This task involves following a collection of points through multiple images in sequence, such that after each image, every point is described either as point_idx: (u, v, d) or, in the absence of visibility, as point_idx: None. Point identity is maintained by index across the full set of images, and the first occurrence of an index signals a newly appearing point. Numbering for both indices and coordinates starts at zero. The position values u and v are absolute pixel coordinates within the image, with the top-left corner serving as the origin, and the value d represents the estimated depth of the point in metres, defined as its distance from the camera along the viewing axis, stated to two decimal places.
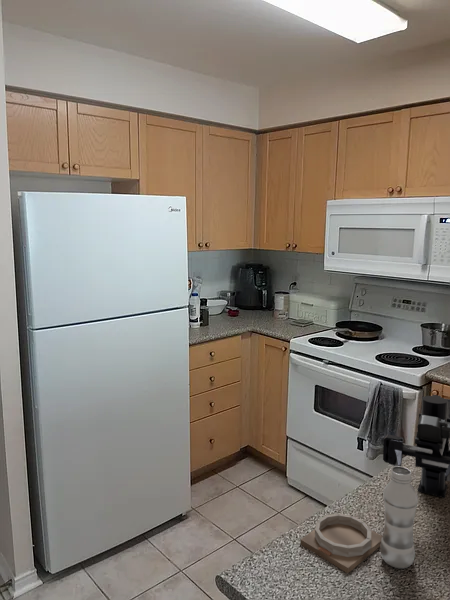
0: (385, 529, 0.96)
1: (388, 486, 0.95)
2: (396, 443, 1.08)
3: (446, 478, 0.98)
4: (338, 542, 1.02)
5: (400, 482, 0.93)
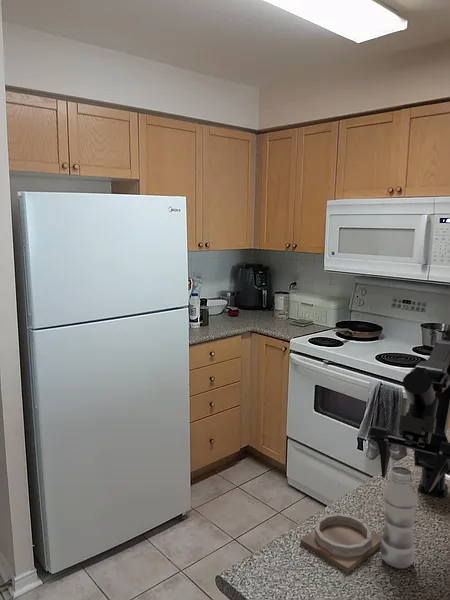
0: (385, 529, 0.96)
1: (388, 486, 0.95)
2: (379, 442, 1.04)
3: (429, 490, 0.96)
4: (338, 542, 1.02)
5: (400, 482, 0.93)
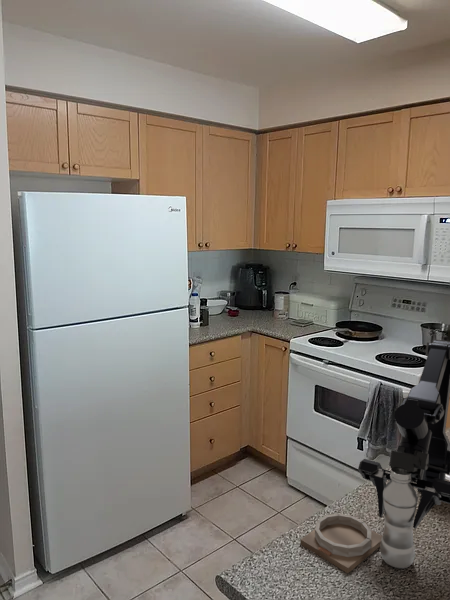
0: (385, 529, 0.96)
1: (388, 486, 0.95)
2: (377, 479, 0.99)
3: (414, 527, 0.93)
4: (338, 542, 1.02)
5: (400, 482, 0.93)
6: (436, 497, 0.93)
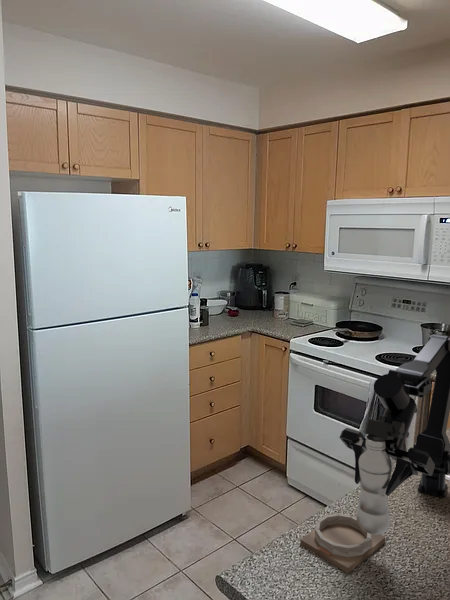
0: (360, 495, 0.98)
1: (363, 453, 0.97)
2: (355, 447, 1.01)
3: (387, 494, 0.94)
4: (338, 542, 1.02)
5: (373, 449, 0.95)
6: (410, 466, 0.94)
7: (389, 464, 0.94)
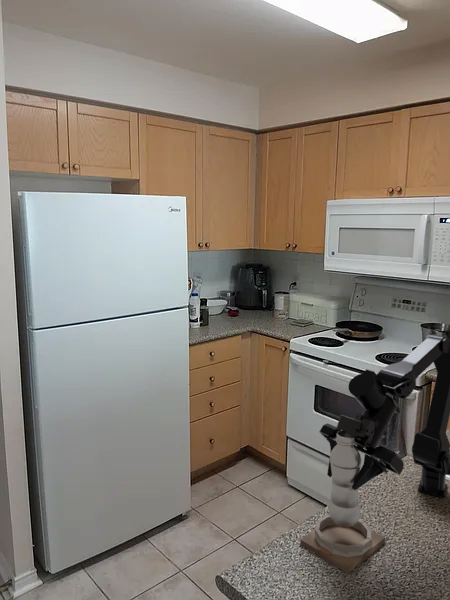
0: None
1: (334, 447, 1.01)
2: (331, 442, 1.05)
3: (353, 488, 0.98)
4: (338, 542, 1.02)
5: (341, 444, 0.99)
6: (376, 463, 0.97)
7: (356, 460, 0.98)
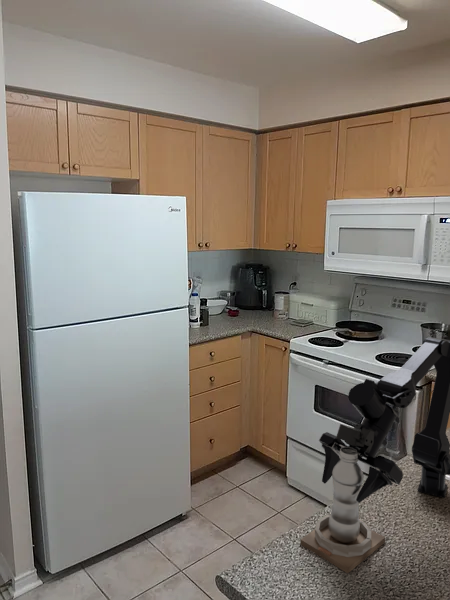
0: None
1: None
2: (326, 449, 1.06)
3: (358, 501, 0.97)
4: (338, 542, 1.02)
5: (344, 460, 0.99)
6: (381, 475, 0.96)
7: (359, 477, 0.98)
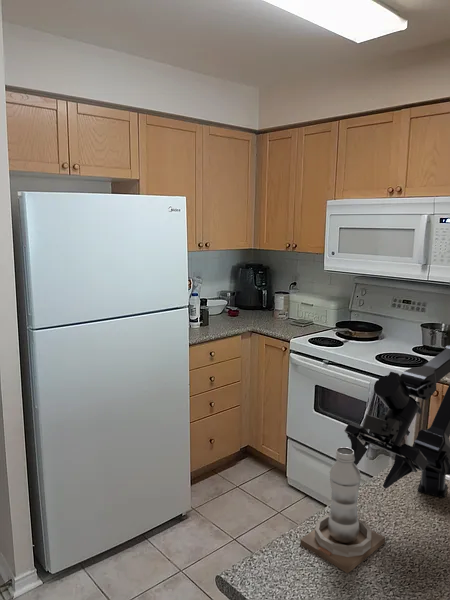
0: (331, 504, 1.03)
1: (333, 464, 1.02)
2: (352, 438, 1.12)
3: (384, 487, 1.02)
4: (338, 542, 1.02)
5: (340, 460, 0.99)
6: (407, 463, 1.01)
7: (356, 477, 0.99)
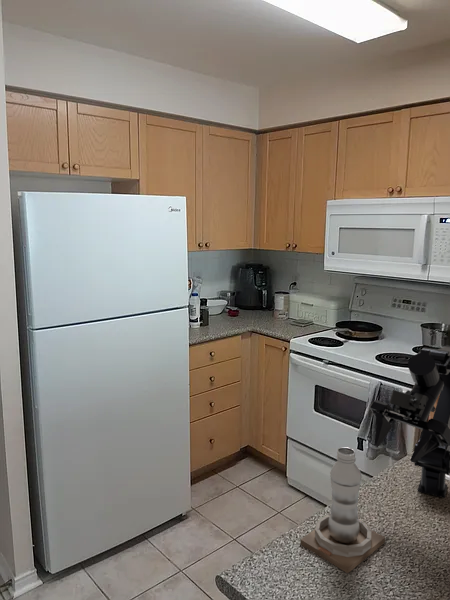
0: None
1: (334, 464, 1.02)
2: (377, 415, 1.12)
3: (412, 461, 1.03)
4: (338, 542, 1.02)
5: (341, 461, 0.99)
6: (435, 437, 1.02)
7: (356, 477, 0.98)
